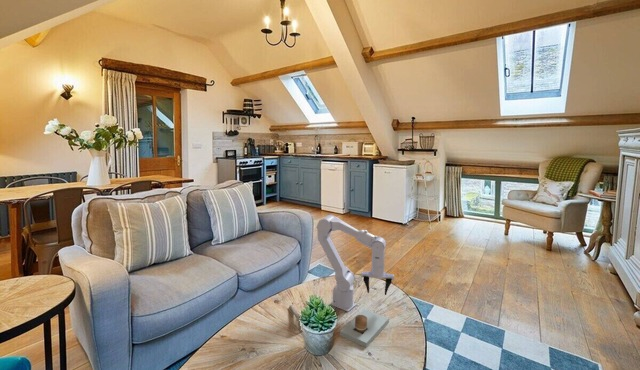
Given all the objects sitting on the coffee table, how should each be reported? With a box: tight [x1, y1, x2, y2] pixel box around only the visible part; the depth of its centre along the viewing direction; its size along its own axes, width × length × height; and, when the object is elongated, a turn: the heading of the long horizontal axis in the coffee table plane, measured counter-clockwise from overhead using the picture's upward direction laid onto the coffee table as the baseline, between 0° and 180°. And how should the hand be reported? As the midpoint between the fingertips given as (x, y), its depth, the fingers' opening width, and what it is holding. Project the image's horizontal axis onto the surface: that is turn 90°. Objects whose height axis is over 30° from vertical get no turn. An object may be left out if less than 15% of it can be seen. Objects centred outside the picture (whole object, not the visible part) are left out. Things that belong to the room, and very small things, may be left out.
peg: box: [354, 314, 367, 334], centre depth 126 cm, size 5×5×7 cm
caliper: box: [289, 304, 303, 332], centre depth 137 cm, size 20×1×6 cm, turn 18°
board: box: [339, 308, 390, 348], centre depth 130 cm, size 12×20×2 cm, turn 143°
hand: (376, 292), depth 141 cm, fingers open, 7 cm apart
